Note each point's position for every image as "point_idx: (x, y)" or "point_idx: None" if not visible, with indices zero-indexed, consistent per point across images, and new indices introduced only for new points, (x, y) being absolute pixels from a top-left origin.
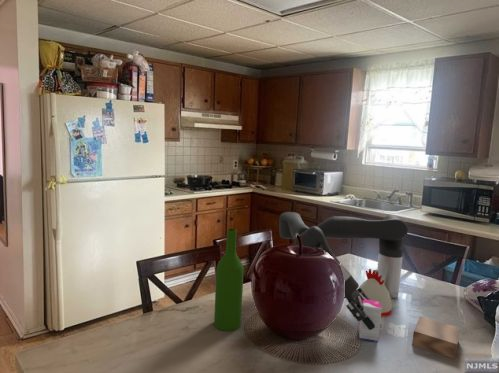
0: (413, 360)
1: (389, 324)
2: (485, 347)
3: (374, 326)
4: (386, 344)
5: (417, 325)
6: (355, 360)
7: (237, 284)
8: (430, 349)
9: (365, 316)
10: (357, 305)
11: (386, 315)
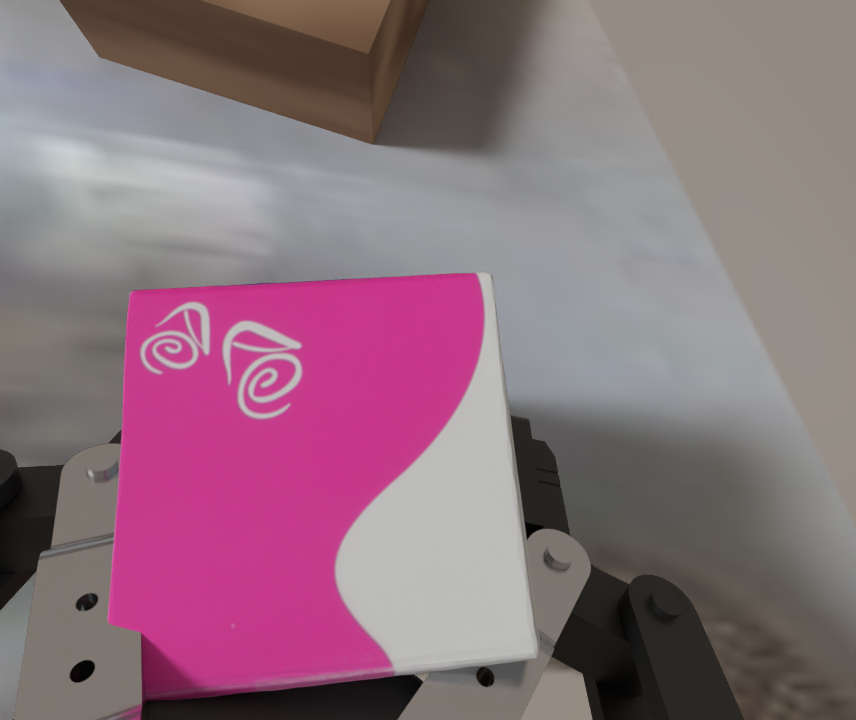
0: (587, 172)
1: (69, 266)
2: None
3: (526, 420)
4: None
5: (238, 1)
6: (781, 582)
7: None
8: (412, 38)
9: (583, 564)
10: None
11: None
